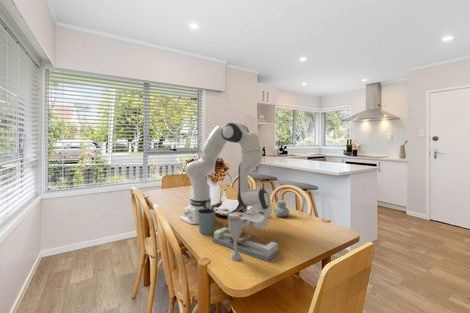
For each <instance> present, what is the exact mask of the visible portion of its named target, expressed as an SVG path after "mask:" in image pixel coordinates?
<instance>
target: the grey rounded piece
mask: <svg viewBox="0 0 470 313" xmlns="http://www.w3.org/2000/svg"><path fill="white" fill-rule="evenodd" d="M286 203H287V202H286V201H285V200H281V199H279V200H277V201H276V207H274V208H272V212H273V214H274V215H275V216H276V217H281V218H284V217H287V216H288V215H289V214H290V210H289V208H287V206H286V205H287V204H286Z"/></svg>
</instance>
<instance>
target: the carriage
mask: <svg viewBox="0 0 470 313" xmlns="http://www.w3.org/2000/svg"><path fill="white" fill-rule="evenodd" d="M235 216H241V217H243V215H242V214H235ZM243 230H244V228H243V229H242V232H241V235H240V237H239V238H238V239H237V242H239V243H244V242H245V241H247V240H251V239H252V234H251V233H250V234H249V233H246V232H243ZM228 233H229V234H227V235H226V238H227V239H230V240H233V241H234V239H233V238H232V237H231V235H230V232H228Z"/></svg>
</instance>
